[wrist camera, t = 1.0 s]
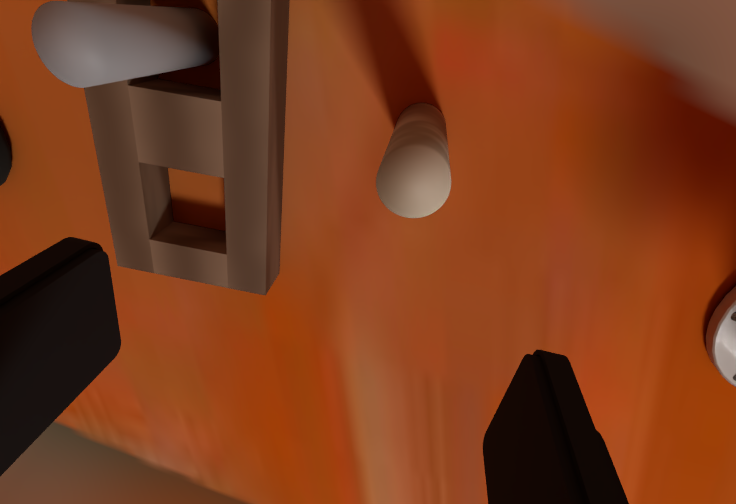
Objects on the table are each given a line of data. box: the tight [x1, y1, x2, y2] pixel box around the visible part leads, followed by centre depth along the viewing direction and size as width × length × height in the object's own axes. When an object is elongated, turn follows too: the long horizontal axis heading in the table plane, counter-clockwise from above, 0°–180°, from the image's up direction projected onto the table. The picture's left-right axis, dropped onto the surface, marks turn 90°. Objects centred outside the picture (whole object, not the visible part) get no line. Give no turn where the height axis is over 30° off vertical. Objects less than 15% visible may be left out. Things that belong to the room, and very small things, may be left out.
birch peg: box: [376, 103, 451, 218], centre depth 21 cm, size 3×3×10 cm
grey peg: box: [32, 1, 219, 88], centre depth 20 cm, size 3×3×10 cm
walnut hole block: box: [67, 0, 289, 295], centre depth 26 cm, size 11×21×3 cm, turn 172°
